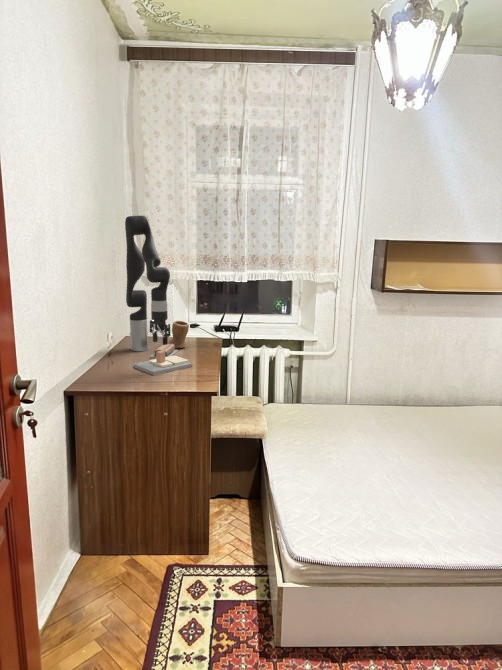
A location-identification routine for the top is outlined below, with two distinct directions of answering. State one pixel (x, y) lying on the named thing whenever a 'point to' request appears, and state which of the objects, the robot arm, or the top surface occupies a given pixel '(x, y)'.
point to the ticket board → (155, 369)
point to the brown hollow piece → (179, 334)
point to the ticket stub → (160, 360)
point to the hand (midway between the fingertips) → (160, 343)
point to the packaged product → (165, 350)
